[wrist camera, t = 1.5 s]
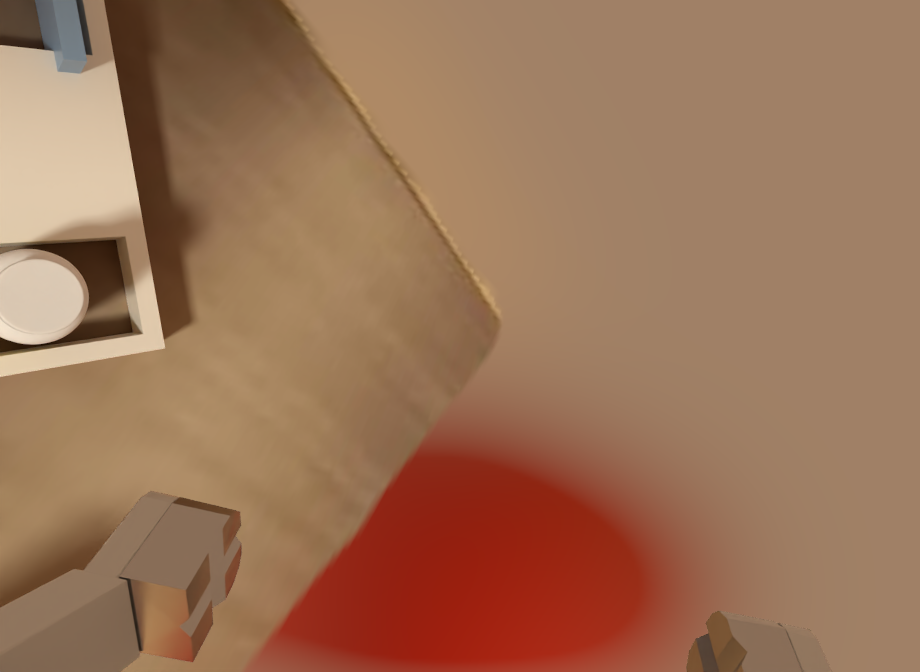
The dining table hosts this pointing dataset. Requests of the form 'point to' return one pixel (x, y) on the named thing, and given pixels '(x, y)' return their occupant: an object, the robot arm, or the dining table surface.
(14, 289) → the supplement bottle
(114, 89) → the pocket rack
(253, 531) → the dining table surface
